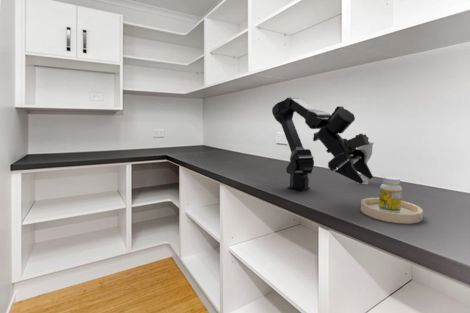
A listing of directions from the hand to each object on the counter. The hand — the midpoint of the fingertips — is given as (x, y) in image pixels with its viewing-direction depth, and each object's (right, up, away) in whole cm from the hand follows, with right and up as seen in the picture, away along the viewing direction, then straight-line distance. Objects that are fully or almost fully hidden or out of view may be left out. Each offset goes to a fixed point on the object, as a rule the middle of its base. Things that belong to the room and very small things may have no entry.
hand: (367, 180), depth 76 cm
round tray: (+5, -9, -4) cm, 11 cm away
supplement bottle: (+5, -9, -3) cm, 10 cm away
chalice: (+16, -5, +34) cm, 38 cm away
